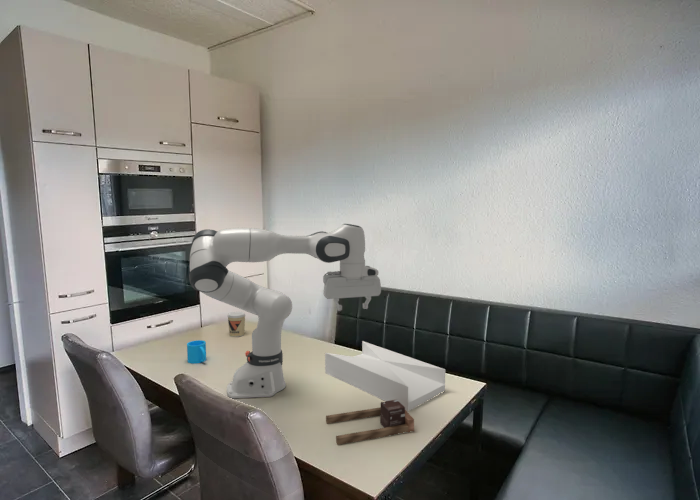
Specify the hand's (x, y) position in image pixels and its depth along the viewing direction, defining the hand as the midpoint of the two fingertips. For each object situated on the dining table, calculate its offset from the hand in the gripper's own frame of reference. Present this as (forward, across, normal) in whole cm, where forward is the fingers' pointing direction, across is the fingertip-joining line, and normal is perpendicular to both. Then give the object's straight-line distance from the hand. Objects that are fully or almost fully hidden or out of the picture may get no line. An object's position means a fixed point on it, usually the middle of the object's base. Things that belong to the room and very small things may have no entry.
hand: (352, 309), depth 144 cm
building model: (+35, +16, +14) cm, 41 cm away
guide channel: (+34, 0, -17) cm, 38 cm away
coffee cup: (+35, -38, +93) cm, 107 cm away
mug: (+35, -56, +58) cm, 88 cm away
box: (+35, +8, -18) cm, 40 cm away
